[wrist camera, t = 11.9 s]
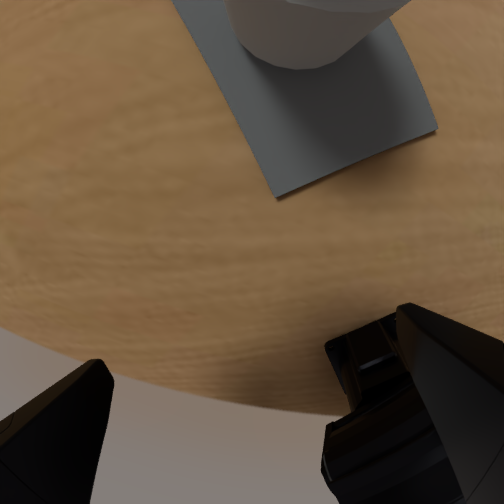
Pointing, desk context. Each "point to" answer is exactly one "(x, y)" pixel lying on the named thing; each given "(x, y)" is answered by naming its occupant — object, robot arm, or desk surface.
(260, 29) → the can
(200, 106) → the desk surface
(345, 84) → the mat
